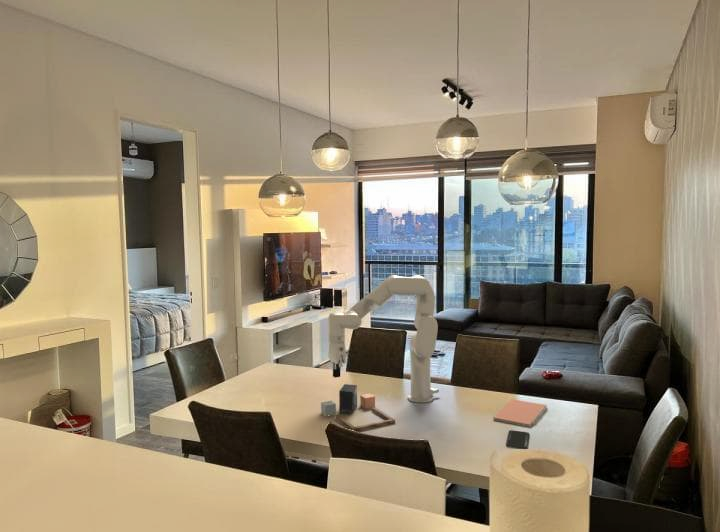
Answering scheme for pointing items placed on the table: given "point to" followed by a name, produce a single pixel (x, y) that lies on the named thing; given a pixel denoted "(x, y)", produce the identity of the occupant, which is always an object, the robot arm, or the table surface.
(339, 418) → the frame
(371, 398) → the terracotta block
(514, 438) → the phone
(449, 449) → the table surface
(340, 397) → the small box
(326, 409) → the slate block
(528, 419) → the notebook
